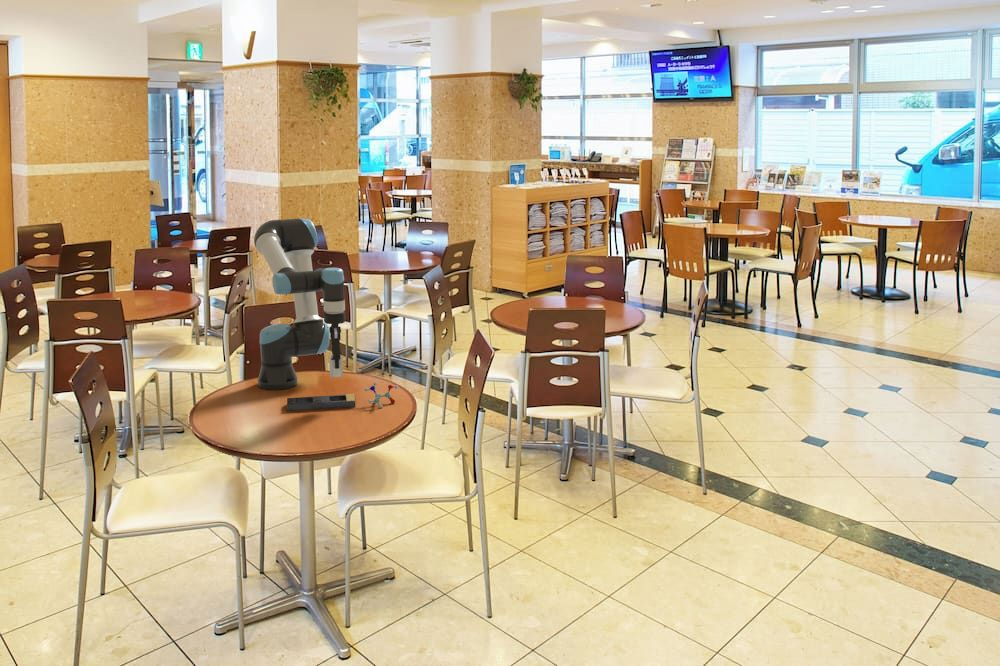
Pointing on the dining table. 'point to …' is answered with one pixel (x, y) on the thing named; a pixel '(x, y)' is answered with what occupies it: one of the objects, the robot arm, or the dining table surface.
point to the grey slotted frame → (320, 402)
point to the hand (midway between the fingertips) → (337, 374)
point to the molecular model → (381, 394)
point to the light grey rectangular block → (332, 366)
